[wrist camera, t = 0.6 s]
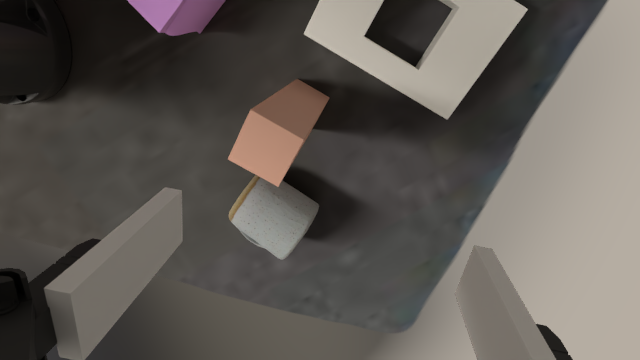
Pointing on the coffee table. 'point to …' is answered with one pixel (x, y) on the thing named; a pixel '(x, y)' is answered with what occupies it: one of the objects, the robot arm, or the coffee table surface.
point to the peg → (278, 131)
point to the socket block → (439, 58)
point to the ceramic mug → (273, 215)
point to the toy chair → (177, 14)
